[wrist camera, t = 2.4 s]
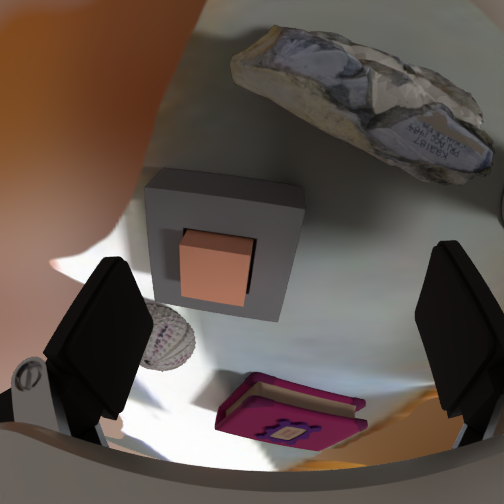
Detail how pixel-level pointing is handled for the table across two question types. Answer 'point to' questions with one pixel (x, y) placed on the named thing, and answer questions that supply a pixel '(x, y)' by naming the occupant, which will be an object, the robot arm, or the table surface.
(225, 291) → the button
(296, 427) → the book
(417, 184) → the table surface
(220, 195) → the button box
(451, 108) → the fossil rock
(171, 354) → the sea urchin shell
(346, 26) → the table surface
